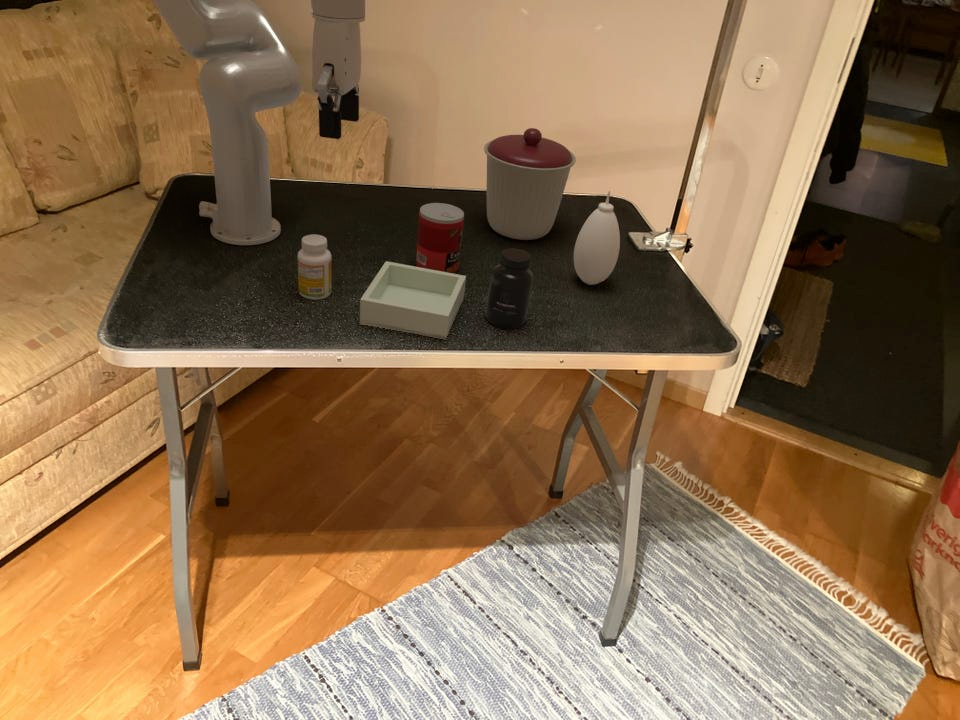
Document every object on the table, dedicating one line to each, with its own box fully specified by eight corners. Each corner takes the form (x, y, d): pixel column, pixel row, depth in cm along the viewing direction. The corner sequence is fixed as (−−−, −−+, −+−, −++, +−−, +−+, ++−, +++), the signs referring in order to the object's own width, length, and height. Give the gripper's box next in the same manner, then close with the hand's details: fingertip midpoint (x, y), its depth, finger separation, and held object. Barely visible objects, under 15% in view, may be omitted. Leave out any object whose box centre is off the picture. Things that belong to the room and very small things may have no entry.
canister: (535, 257, 145) (553, 151, 133) (458, 229, 152) (468, 126, 140) (576, 230, 158) (595, 131, 147) (503, 205, 165) (516, 109, 154)
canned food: (453, 280, 134) (459, 223, 128) (410, 271, 135) (414, 215, 129) (462, 262, 140) (468, 207, 134) (421, 254, 141) (425, 199, 135)
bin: (359, 324, 118) (360, 299, 116) (384, 284, 130) (385, 261, 127) (445, 340, 117) (448, 316, 114) (463, 299, 128) (466, 276, 126)
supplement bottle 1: (315, 281, 128) (314, 229, 123) (338, 293, 126) (338, 240, 120) (291, 292, 124) (289, 238, 119) (314, 304, 122) (313, 250, 116)
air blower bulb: (561, 274, 141) (579, 182, 131) (598, 271, 143) (618, 181, 133) (580, 294, 135) (600, 200, 125) (618, 290, 137) (640, 198, 127)
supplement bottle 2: (495, 332, 121) (504, 266, 114) (478, 311, 126) (486, 246, 119) (533, 327, 123) (544, 262, 117) (515, 306, 128) (525, 243, 122)
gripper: (330, -4, 113) (332, 111, 122) (291, 12, 99) (297, 141, 108) (379, 2, 113) (377, 117, 122) (347, 19, 98) (348, 148, 107)
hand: (339, 128), depth 115 cm, fingers open, 9 cm apart
